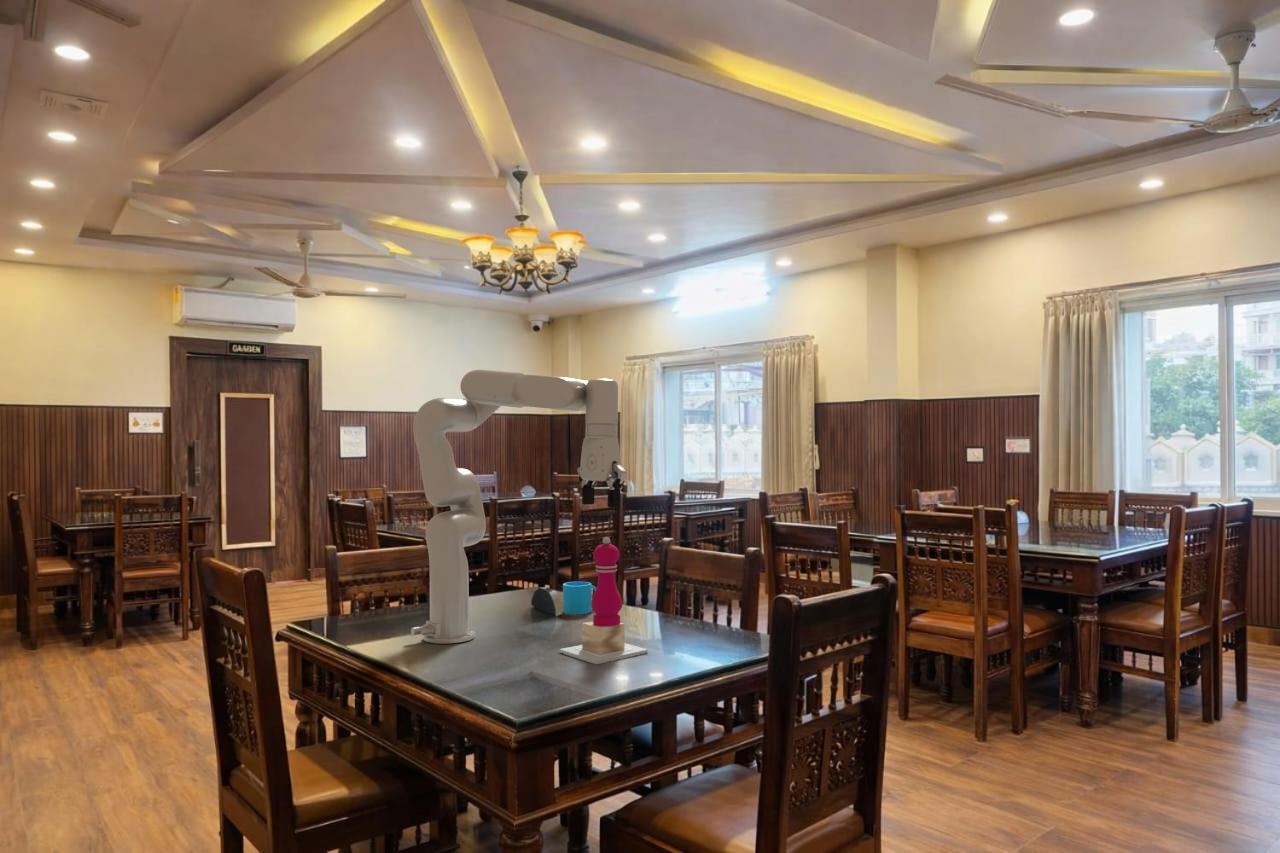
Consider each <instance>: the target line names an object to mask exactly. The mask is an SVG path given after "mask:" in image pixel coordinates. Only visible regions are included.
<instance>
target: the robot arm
mask: <svg viewBox="0 0 1280 853" xmlns="http://www.w3.org/2000/svg"><path fill="white" fill-rule="evenodd" d="M460 392H461V394H462V396H463V397H464V398H461V399H459V398H452V397H451V398H450V397H438V398H433V399H429V400H427V401H426V402H424V403H423V404H422V405H421V406H420V407H419V409H418V410H417V412H416V413H415V416H414V420H413V424H412V425H413V426H412V429H413V438H414V442H415V445H416V449H417V453H418V459H419V465H420V466H419V468H420V473H421V480H422V484H423V490H424V494H425V495H424V496H425V499H426V500H427V502H428V503H429V504H430V505H432V506H435V507H439V508H441V507H443V508H444V507H450V510H449V511H444V512H439V513H437V514H435V515H434V516H432V517H431V518H430V520H429V521H428V523H427V524H426V527H425V542H426V546H427V552H428V561H429V562H428V563H429V620H426V621H425V624H423V625H422V626H414V627H411V628H410V635H411V636H418V635H420V636H422V637H423V641H424V642H426V643H430V644H440V645H443V644H444V645H445V644H446V645H447V644H448V645H449V644H459V643H464V642H468V641H471V640H473V639H475V637H476V632H475V631H474V630H472V629H470V624H469V622H470V620H469V619H470V618H469V616H470V615H469V614H470V613H469V611H470V606H469V605H470V604H469V601H470V597H469V595H470V594H469V592H470V591H469V584H470V583H469V580H470V579H469V578H470V577H469V561H468V557H467V555H466V552H465V549H464V548H465V547H471V546H474V545H476V544H478V543H480V542H481V541H482V540H483V538H484V537H485V535H486V529H487V522H486V515H485V509H484V503H483V499H482V498H483V497H482V491H481V487H480V484H479V481H478V478H477V477H476V475H475V474H474V473H473V472H472V471H471V470H469V469H468V468H467V469H466V468H463V467H457V466H456V462H455V457H454V454H455V453H454V451H453V448H452V445H451V443H450V441H449V440H448V438H447V436H446V434H447V433H468V432H471V431H473V430H475V429H476V428H478V427H479V426H481V425H482V424H483V423H484V422H485V421H486V420H488V418H489V417H491V416H492V415H493V414H494V413H495V412H496V411H498V410H499V409H500V407H508V408H520V409H522V408H524V407H525V408H527V407H529V408H538V409H539V408H540V409H549V410H559V411H571V412H572V411H573V412H579V411H585V437H584V438H583V441H582V446H581V453H580V455H581V456H580V466H579V467H577V470H576V471H577V475H578V481H579V482H580V488H582V489H581V492H582V493H581V496H582V497H581V498H582V499H581V504H582V505H585V506H586V505H594V504H595V487H594V484H595V482H606V484H607V485H608V488H609V489H607V508H609V509H611V508H613V509H614V508H620V507H621V490H622V489H623V486H624V484H625V479H626V476H627V470H626V469H624V467H622V465H621V451H620V443H619V438H618V437H619V432H618V431H619V429H618V428H619V426H618V423H619V384H618V382H617V380H614V379H612V378H611V379H610V378H592V379H589V380H584V379H577V378H572V377H563V376H551V375H550V376H549V375H537V374H527V373H525V372H516V371H501V370H488V369H475V370H470V371H468V372H467V373H466V374H465V375H463V377H462V379H461V381H460Z"/></svg>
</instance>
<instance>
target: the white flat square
mask: <svg viewBox="0 0 1280 853" xmlns="http://www.w3.org/2000/svg"><path fill="white" fill-rule="evenodd" d="M559 653H560V654H562V653H563V655H566V656H569V657H571V658H575V659H578V660H580V661H584V662H587V663H590V664H593V665H600V664H604V663H609V661H610V662H613V661H618V659H619V660H623V659H627V658H632V657H636V655H637V656H641V655H646V654H649V649H647V648H644V647H639V646H637V645H633V644H629V643H626V642H625V650H620V651H616V652H611V653H606V654H602V655H600V654H597V653H593V652H590V651H587V650H584V649H582V644H579V645H574V646H569V647H564V648H559ZM645 653H646V654H645ZM640 654H641V655H640Z"/></svg>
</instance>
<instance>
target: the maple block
mask: <svg viewBox="0 0 1280 853" xmlns="http://www.w3.org/2000/svg"><path fill="white" fill-rule="evenodd" d="M625 636H626V635H625V623H624V622H620V624H619V625H615V626H597V625H594V624H593V620H591V621H587V622H582V623H581V645H582V649H584V650H587V651H590V652H593V653H597V654H600V655H602V654H606V653H611V652H616V651H620V650H625V643H626V642H625Z"/></svg>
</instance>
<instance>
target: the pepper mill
mask: <svg viewBox="0 0 1280 853" xmlns="http://www.w3.org/2000/svg"><path fill="white" fill-rule="evenodd" d="M592 557H593V560H594V561H595V563H596V565H595V572H597V584H596V590H594V592H593V596H592V601H591V608H592V611H593V612H594V615H593V617H592V618H593V620H592V621H593V624H594V625H597V626H615V625H619V624H620V623H621V615H620V614H619V612H620V611H621V610H622V608H623V601H622V596H621V593H620V592H619V590H618V587H617V585H616V572H617V571H618V565H617V562H618V560H620V552H619V549H618V547H617V546H615V545H614V544H611V539H610V537H608V536H605V537H603V538H602V543H601V544H599V545H597V546H596V547H595V549H594V551H593V556H592Z"/></svg>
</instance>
